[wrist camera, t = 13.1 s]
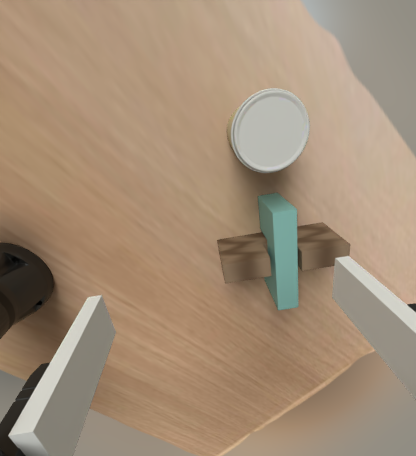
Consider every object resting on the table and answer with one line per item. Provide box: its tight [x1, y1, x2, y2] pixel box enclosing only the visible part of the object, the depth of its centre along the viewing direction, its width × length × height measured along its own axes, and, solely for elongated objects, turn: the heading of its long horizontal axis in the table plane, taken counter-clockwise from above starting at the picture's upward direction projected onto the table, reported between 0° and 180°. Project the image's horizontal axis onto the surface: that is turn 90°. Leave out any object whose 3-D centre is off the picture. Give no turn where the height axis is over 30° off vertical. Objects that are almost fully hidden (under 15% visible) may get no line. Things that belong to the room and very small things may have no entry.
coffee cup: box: [227, 88, 310, 173], centre depth 34 cm, size 9×9×12 cm
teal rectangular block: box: [258, 193, 298, 310], centre depth 44 cm, size 4×18×9 cm, turn 9°
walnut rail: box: [217, 222, 350, 284], centre depth 44 cm, size 20×4×9 cm, turn 99°
